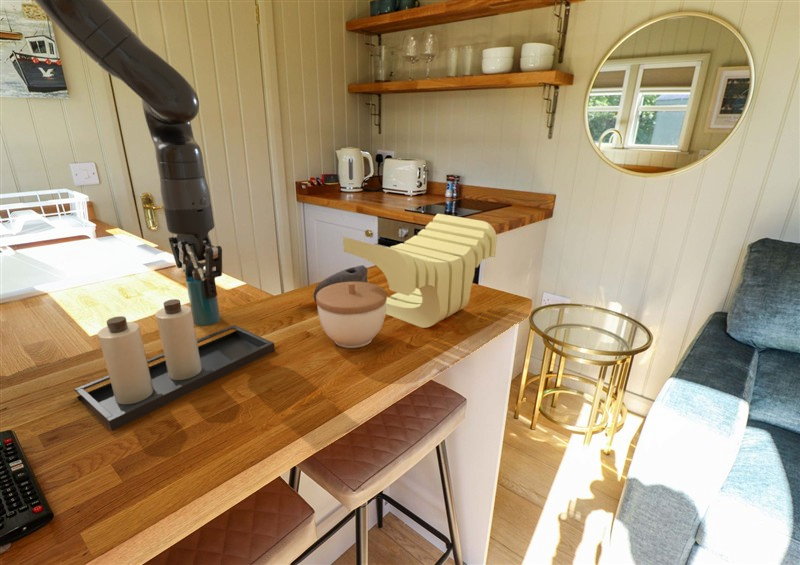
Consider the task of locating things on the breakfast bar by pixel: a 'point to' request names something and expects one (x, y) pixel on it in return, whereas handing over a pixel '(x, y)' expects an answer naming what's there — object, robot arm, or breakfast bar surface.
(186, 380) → the tray
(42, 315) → the breakfast bar surface
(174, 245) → the robot arm
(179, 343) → the cream bottle
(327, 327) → the lidded bowl
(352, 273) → the perforated stone tool
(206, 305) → the teal bottle
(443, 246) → the slatted curved stool
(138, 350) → the cream bottle
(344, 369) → the breakfast bar surface
